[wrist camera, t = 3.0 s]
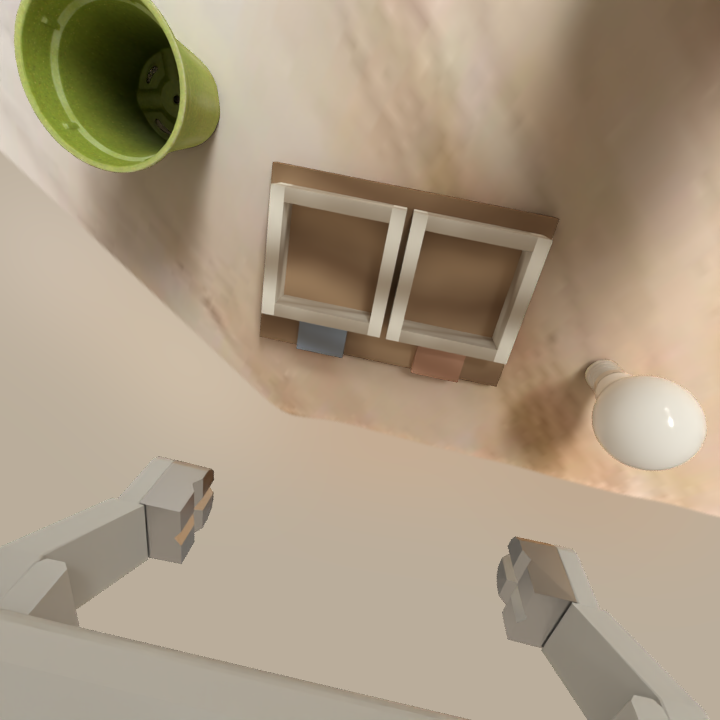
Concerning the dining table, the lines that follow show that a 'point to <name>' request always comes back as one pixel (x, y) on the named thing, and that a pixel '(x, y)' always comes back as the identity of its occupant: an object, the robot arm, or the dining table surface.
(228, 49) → the dining table surface
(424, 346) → the socket board
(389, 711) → the robot arm
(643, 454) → the lightbulb
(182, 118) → the plant pot
